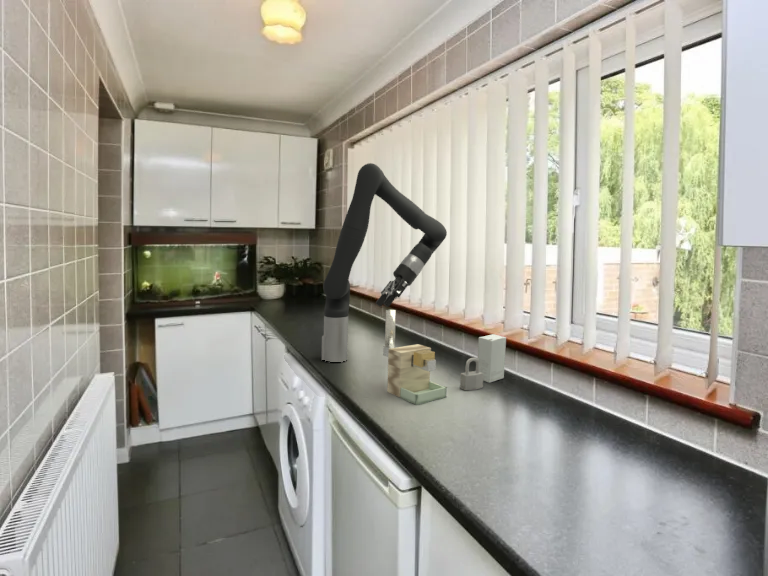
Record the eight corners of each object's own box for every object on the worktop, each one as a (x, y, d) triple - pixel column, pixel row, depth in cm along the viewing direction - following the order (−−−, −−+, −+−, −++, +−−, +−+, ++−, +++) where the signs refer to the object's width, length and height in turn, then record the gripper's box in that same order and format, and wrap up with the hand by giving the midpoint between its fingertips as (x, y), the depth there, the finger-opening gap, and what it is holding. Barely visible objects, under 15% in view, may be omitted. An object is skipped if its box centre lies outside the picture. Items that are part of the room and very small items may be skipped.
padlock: (476, 384, 148) (477, 355, 147) (484, 388, 144) (485, 358, 143) (458, 387, 144) (460, 357, 143) (466, 391, 141) (468, 360, 140)
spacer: (413, 364, 133) (413, 351, 133) (426, 361, 136) (426, 349, 136) (421, 367, 131) (421, 354, 130) (434, 364, 134) (434, 352, 133)
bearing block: (387, 391, 138) (388, 348, 137) (416, 384, 146) (418, 344, 144) (399, 397, 134) (401, 352, 132) (429, 390, 141) (430, 347, 140)
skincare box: (490, 374, 160) (492, 333, 158) (504, 379, 155) (507, 336, 154) (475, 378, 154) (477, 336, 153) (489, 383, 150) (492, 339, 148)
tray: (400, 397, 133) (400, 387, 133) (429, 390, 141) (430, 381, 140) (416, 405, 128) (416, 394, 127) (446, 397, 135) (446, 387, 135)
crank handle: (382, 355, 147) (383, 309, 145) (390, 353, 149) (391, 309, 147) (427, 371, 130) (429, 320, 128) (435, 369, 132) (437, 319, 130)
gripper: (394, 264, 166) (367, 298, 162) (408, 261, 152) (380, 298, 148) (408, 277, 167) (382, 311, 164) (424, 275, 154) (396, 312, 150)
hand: (381, 305), depth 156 cm, fingers open, 8 cm apart
